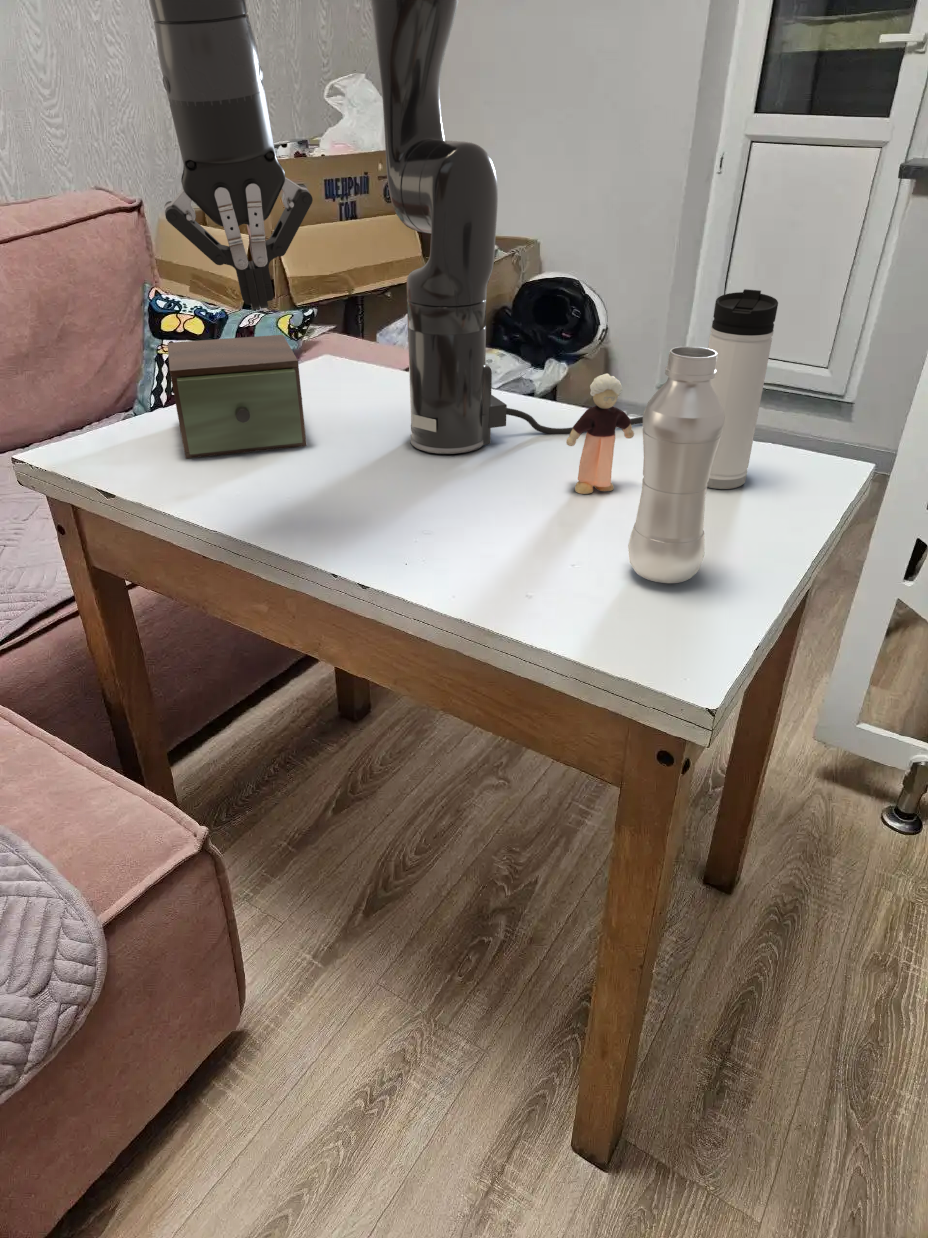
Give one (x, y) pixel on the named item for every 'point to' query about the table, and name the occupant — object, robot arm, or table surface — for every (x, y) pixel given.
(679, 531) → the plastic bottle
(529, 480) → the table surface
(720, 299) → the travel mug
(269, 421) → the drawer
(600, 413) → the grandmother figurine
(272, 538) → the table surface
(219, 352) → the cabinet
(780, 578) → the table surface
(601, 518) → the table surface
